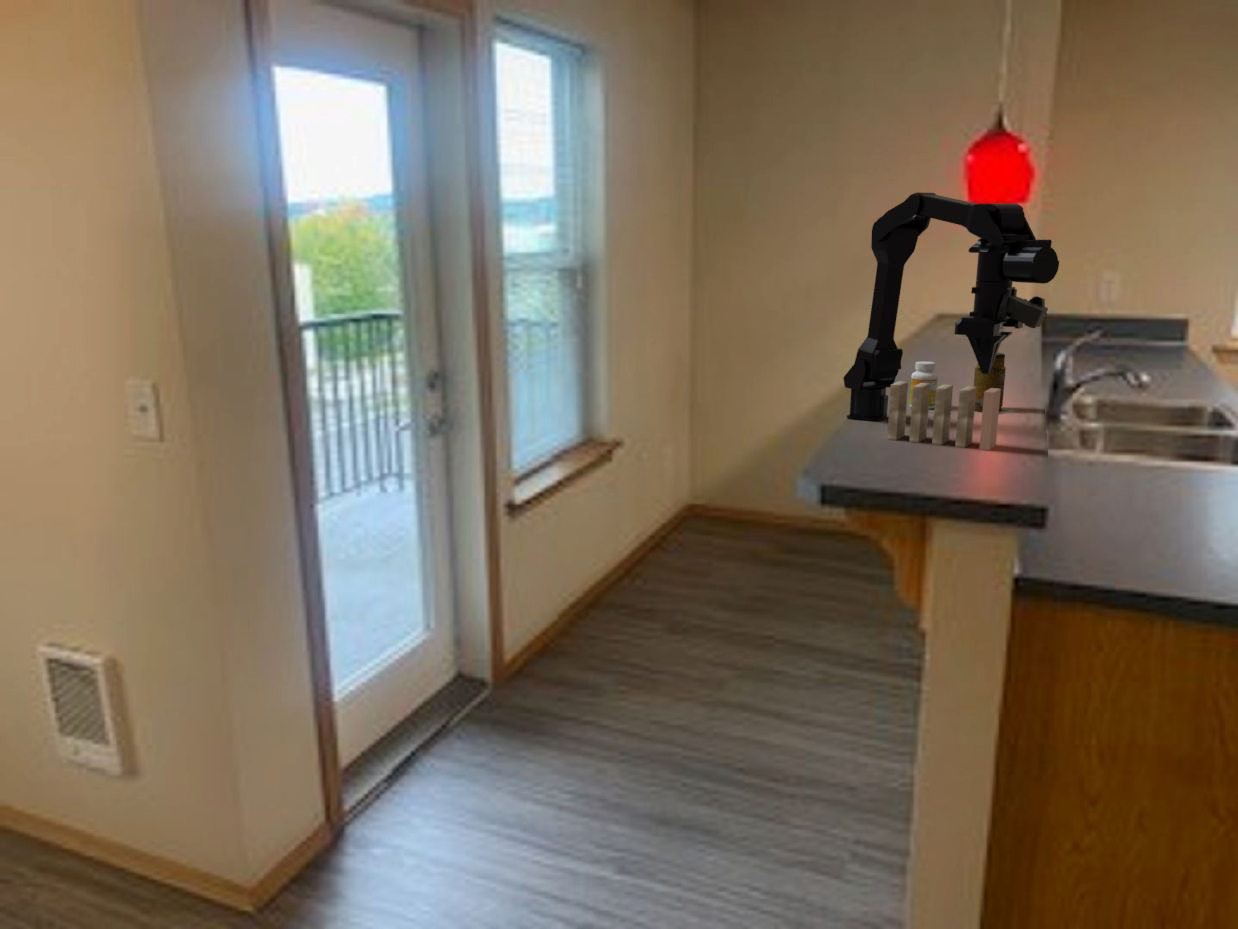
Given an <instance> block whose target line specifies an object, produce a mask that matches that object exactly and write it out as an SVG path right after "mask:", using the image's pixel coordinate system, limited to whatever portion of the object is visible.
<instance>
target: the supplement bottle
mask: <svg viewBox="0 0 1238 929" xmlns="http://www.w3.org/2000/svg"><path fill="white" fill-rule="evenodd" d="M914 369H915V371H914V372H912V373H911V377H910V392H909V402H908V403H909V404H908V405H909V408H912V393H913V386H915V385H917V384H920V383H930V392H929V407H928V410H932V409H935V396H936V388H938V373H936V372H934V370H935V369H936V363H935V362H934V361H927V360H926V361H924V360H923V361H916V362H915V366H914Z"/></svg>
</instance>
